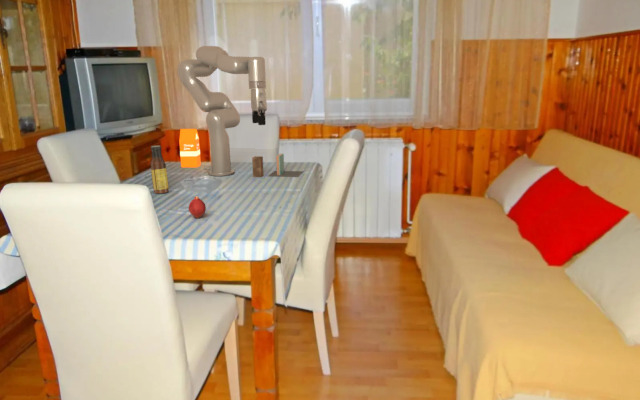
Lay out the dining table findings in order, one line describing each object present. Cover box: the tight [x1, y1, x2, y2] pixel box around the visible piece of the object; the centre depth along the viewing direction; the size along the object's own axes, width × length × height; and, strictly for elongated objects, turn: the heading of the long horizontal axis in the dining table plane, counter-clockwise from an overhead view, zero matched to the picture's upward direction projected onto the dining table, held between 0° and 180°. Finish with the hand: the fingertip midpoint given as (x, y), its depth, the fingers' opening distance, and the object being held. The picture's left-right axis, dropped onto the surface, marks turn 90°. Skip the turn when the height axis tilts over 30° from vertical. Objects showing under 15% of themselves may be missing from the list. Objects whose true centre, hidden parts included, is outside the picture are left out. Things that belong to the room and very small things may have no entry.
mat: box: [268, 170, 304, 178], centre depth 252 cm, size 15×14×1 cm
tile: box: [275, 153, 285, 175], centre depth 252 cm, size 2×8×9 cm, turn 171°
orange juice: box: [178, 128, 202, 168], centre depth 277 cm, size 8×9×20 cm
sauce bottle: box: [150, 145, 170, 195], centre depth 218 cm, size 7×6×20 cm
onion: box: [188, 195, 207, 219], centre depth 181 cm, size 6×6×8 cm
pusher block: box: [251, 155, 264, 178], centre depth 246 cm, size 4×4×10 cm
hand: (258, 123), depth 236 cm, fingers open, 9 cm apart
